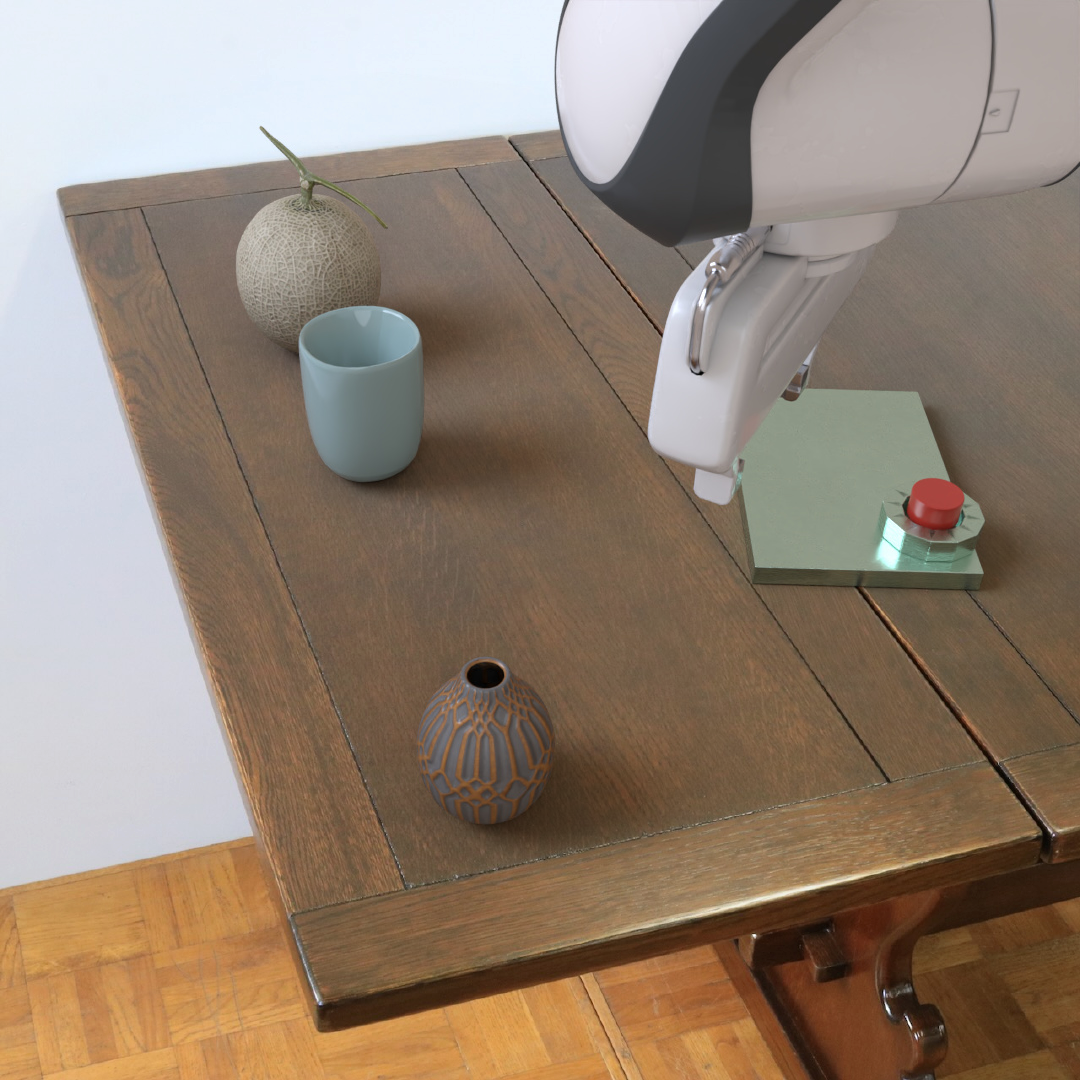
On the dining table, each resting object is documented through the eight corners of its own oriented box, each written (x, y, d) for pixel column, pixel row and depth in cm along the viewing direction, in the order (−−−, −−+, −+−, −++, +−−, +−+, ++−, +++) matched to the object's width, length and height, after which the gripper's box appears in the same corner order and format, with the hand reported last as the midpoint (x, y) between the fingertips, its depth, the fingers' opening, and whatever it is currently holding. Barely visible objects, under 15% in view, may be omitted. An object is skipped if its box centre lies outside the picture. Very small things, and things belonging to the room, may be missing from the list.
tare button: (963, 532, 82) (970, 510, 81) (911, 530, 82) (917, 508, 81) (952, 500, 84) (958, 478, 83) (902, 498, 84) (907, 476, 83)
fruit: (373, 388, 97) (360, 197, 88) (225, 368, 99) (196, 179, 89) (412, 317, 105) (404, 135, 95) (274, 299, 107) (253, 119, 97)
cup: (401, 419, 94) (394, 295, 88) (444, 480, 89) (441, 352, 82) (295, 446, 91) (281, 319, 85) (334, 510, 86) (321, 380, 80)
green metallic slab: (986, 590, 82) (998, 553, 80) (752, 583, 82) (758, 546, 80) (920, 407, 97) (928, 372, 95) (723, 401, 97) (727, 366, 95)
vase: (433, 734, 72) (428, 616, 66) (560, 750, 71) (566, 631, 65) (406, 837, 66) (398, 717, 61) (543, 855, 66) (547, 736, 60)
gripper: (785, 301, 47) (736, 589, 56) (935, 102, 61) (876, 358, 70) (622, 257, 49) (600, 541, 58) (803, 74, 63) (763, 327, 72)
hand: (752, 440), depth 64 cm, fingers open, 8 cm apart
